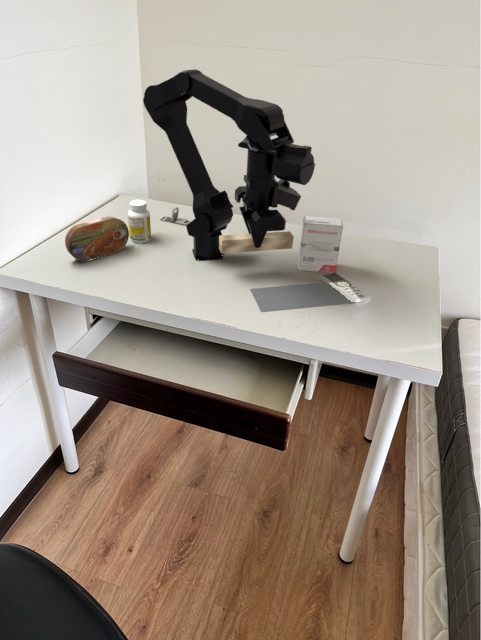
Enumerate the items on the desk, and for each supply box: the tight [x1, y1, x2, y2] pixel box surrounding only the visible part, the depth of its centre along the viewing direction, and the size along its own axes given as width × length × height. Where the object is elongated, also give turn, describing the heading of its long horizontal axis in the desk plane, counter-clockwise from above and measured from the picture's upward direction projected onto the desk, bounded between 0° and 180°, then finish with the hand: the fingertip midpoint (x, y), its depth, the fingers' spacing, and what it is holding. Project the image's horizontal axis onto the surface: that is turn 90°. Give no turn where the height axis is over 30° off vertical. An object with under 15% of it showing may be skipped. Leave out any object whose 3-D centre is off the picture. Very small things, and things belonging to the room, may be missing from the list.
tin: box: [64, 216, 130, 262], centre depth 108 cm, size 15×3×8 cm, turn 131°
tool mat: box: [249, 281, 355, 313], centre depth 98 cm, size 22×9×1 cm, turn 104°
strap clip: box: [159, 206, 192, 227], centre depth 127 cm, size 8×3×4 cm, turn 68°
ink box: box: [297, 215, 344, 273], centre depth 105 cm, size 9×5×12 cm, turn 84°
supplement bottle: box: [127, 199, 152, 244], centre depth 115 cm, size 5×5×10 cm
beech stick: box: [219, 231, 294, 254], centre depth 101 cm, size 16×2×3 cm, turn 104°
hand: (255, 244), depth 102 cm, fingers closed on beech stick, 2 cm apart
